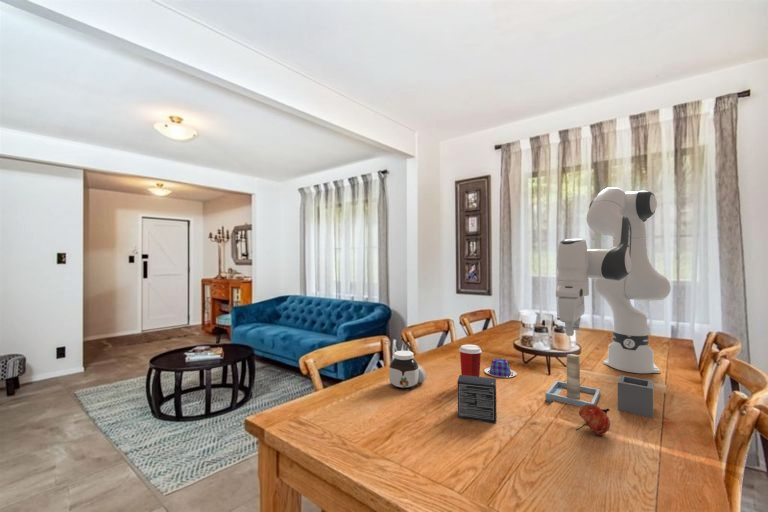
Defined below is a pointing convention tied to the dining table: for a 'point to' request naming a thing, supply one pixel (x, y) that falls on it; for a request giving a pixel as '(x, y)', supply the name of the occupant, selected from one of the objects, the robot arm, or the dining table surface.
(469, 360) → the paper cup
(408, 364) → the spread jar
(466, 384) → the small box
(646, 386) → the grey open-top box
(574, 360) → the maple dowel
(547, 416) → the dining table surface
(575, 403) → the slate tray
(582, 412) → the pomegranate
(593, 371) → the dining table surface
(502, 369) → the pudding
